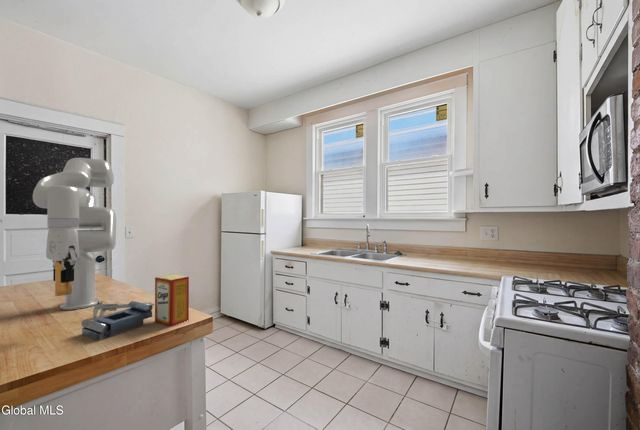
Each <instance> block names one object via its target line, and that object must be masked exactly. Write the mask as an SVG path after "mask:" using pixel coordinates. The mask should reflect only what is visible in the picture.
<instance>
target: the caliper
mask: <svg viewBox="0 0 640 430" xmlns="http://www.w3.org/2000/svg"><path fill="white" fill-rule="evenodd" d="M100 301H101V302H99V301H98V303H97V304H95V305H94V308H93V311H92V312H93V313H92V314H93V316H92V317H93V319H94V318H97V315H98V313H99V310H100V313H99V316H98V317H101V316H104V315H105V313H106V312H107V311H110V312H112V311H114V312H115V311H116V312H117V310H118V309H130V308H129V306H128V305H129V303H118V302H113V303H104V301H103V300H100ZM143 303H144V304H149V305H152V306H155V305H154V304H155V303H152V302H143Z"/></svg>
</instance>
